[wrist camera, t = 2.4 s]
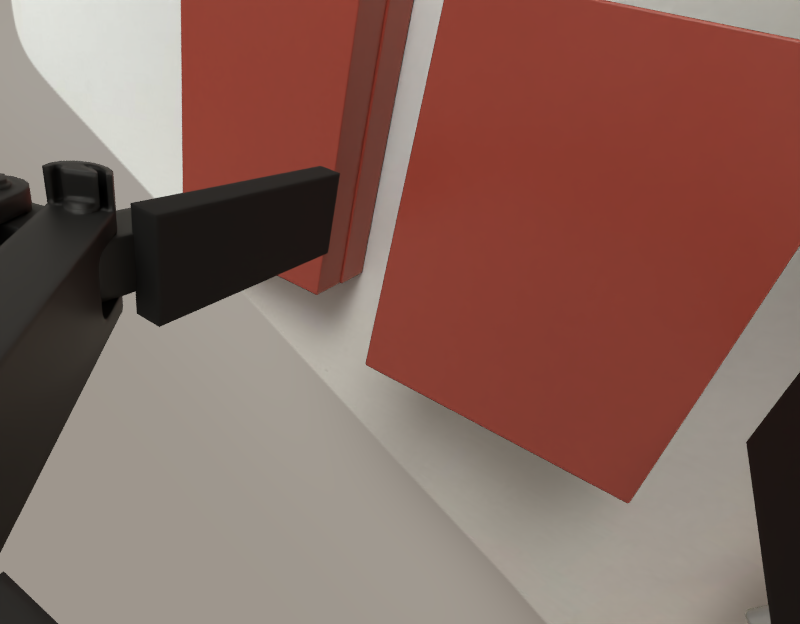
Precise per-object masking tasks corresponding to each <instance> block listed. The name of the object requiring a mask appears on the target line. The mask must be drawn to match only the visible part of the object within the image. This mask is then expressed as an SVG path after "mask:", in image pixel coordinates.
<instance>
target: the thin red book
mask: <svg viewBox="0 0 800 624" xmlns="http://www.w3.org/2000/svg"><path fill="white" fill-rule="evenodd" d="M799 246H800V40H798V39H794V38H789V37H784V36H779V35H774V34H769V33H764V32H759V31H754V30H749V29H744V28H739V27H734V26H729V25H724V24H719V23H714V22H710V21H705V20H700V19H695V18H690V17H685V16H680V15H675V14H670V13H665V12H660V11H655V10H650V9H645V8H640V7H635V6H630V5H625V4H621V3H616V2H611V1H606V0H444V3H443V7H442V12H441V17H440V21H439V26H438V31H437V35H436V40H435V44H434V49H433V54H432V58H431V63H430V68H429V72H428V77H427V81H426V86H425V91H424V95H423V100H422V105H421V109H420V114H419V119H418V123H417V128H416V132H415V137H414V142H413V146H412V151H411V156H410V160H409V165H408V169H407V174H406V179H405V183H404V188H403V193H402V197H401V202H400V206H399V211H398V216H397V220H396V225H395V230H394V234H393V239H392V244H391V248H390V253H389V257H388V262H387V267H386V271H385V276H384V281H383V285H382V290H381V294H380V299H379V304H378V308H377V313H376V318H375V322H374V327H373V331H372V336H371V341H370V345H369V350H368V355H367V359H366V365H367V366H369V367H371V368H373V369H375V370H377V371H379V372H380V373H382V374H384V375H386V376H388V377H390V378H392V379H394V380H396V381H397V382H399V383H401V384H403V385H405V386H407V387H409V388H411V389H413V390H414V391H416V392H418V393H420V394H422V395H424V396H426V397H428V398H430V399H431V400H433V401H435V402H437V403H439V404H441V405H443V406H445V407H447V408H448V409H450V410H452V411H454V412H456V413H458V414H460V415H462V416H464V417H465V418H467V419H469V420H471V421H473V422H475V423H477V424H479V425H480V426H482V427H484V428H486V429H488V430H490V431H492V432H494V433H496V434H497V435H499V436H501V437H503V438H505V439H507V440H509V441H511V442H513V443H514V444H516V445H518V446H520V447H522V448H524V449H526V450H528V451H530V452H531V453H533V454H535V455H537V456H539V457H541V458H543V459H545V460H547V461H548V462H550V463H552V464H554V465H556V466H558V467H560V468H562V469H564V470H565V471H567V472H569V473H571V474H573V475H575V476H577V477H579V478H580V479H582V480H584V481H586V482H588V483H590V484H592V485H594V486H596V487H597V488H599V489H601V490H603V491H605V492H607V493H609V494H611V495H613V496H614V497H616V498H618V499H620V500H622V501H624V502H626V503H629V502H630V501H631V500H632V498H633V497H634V495H635V494H636V492H637V491H638V489H639V488H640V486H641V485H642V483H643V482H644V480H645V479H646V477H647V476H648V474H649V473H650V471H651V470H652V468H653V467H654V465H655V464H656V462H657V460H658V459H659V457H660V456H661V454H662V453H663V451H664V450H665V448H666V447H667V445H668V444H669V442H670V441H671V439H672V438H673V436H674V435H675V433H676V432H677V430H678V429H679V427H680V426H681V424H682V423H683V421H684V420H685V418H686V417H687V415H688V414H689V412H690V411H691V409H692V408H693V406H694V405H695V403H696V402H697V400H698V399H699V397H700V396H701V394H702V393H703V391H704V389H705V388H706V386H707V385H708V383H709V382H710V380H711V379H712V377H713V376H714V374H715V373H716V371H717V370H718V368H719V367H720V365H721V364H722V362H723V361H724V359H725V358H726V356H727V355H728V353H729V352H730V350H731V349H732V347H733V346H734V344H735V343H736V341H737V340H738V338H739V337H740V335H741V334H742V332H743V331H744V329H745V328H746V326H747V325H748V323H749V322H750V320H751V318H752V317H753V315H754V314H755V312H756V311H757V309H758V308H759V306H760V305H761V303H762V302H763V300H764V299H765V297H766V296H767V294H768V293H769V291H770V290H771V288H772V287H773V285H774V284H775V282H776V281H777V279H778V278H779V276H780V275H781V273H782V272H783V270H784V269H785V267H786V266H787V264H788V263H789V261H790V260H791V258H792V257H793V255H794V254H795V252H796V251H797V249H798V247H799Z"/></svg>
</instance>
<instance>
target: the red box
mask: <svg viewBox="0 0 800 624" xmlns="http://www.w3.org/2000/svg"><path fill="white" fill-rule="evenodd" d="M412 6H413V0H181V55H182V151H183V193H185V192H190V191H195V190H200V189H205V188H210V187H215V186H220V185H225V184H231V183H236V182H241V181H246V180H251V179H256V178H261V177H266V176H271V175H276V174H281V173H286V172H291V171H296V170H301V169H306V168H311V167H316V166H323V167H325V168H328V169H330V170H333V171H336V172H338V173H340V178H339V185H338V191H337V198H336V204H335V211H334V217H333V224H332V230H331V237H330V243H329V250H328V253H327V254H325V255H322V256H320V257H318V258H315V259H313V260H311V261H309V262H306V263H304V264H302V265H299V266H297V267H295V268H293V269H290V270H288V271H286V272H283V273H281V274H279V275H277V276H279V277H281V278H283V279H285V280H287V281H289V282H291V283H294V284H296V285H298V286H300V287H302V288H304V289H306V290H308V291H310V292H312V293H314V294H316V295H318V294H320V293H322V292H323V291H325V290H327V289H329V288H331V287H333V286H335V285H336V284H338V283H339V282H340V283H343V282H345V281H347V280H349V279H351V278H353V277H354V276H356V275H358V274H360V273H362V269H363V264H364V259H365V253H366V248H367V243H368V238H369V232H370V227H371V222H372V216H373V211H374V206H375V201H376V195H377V190H378V185H379V180H380V174H381V169H382V164H383V159H384V153H385V148H386V143H387V137H388V132H389V127H390V122H391V116H392V111H393V106H394V101H395V95H396V90H397V85H398V79H399V74H400V69H401V64H402V58H403V53H404V48H405V43H406V37H407V32H408V27H409V22H410V16H411V11H412Z"/></svg>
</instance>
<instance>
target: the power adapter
mask: <svg viewBox="0 0 800 624" xmlns="http://www.w3.org/2000/svg"><path fill="white" fill-rule="evenodd" d="M745 615H746V619H747V621H748V623H749V624H771V621H770V613H769V606H768V605H766V606H761V607H757V608H752V609H748V610H747V611H746V614H745Z"/></svg>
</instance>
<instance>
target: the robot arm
mask: <svg viewBox="0 0 800 624" xmlns="http://www.w3.org/2000/svg"><path fill="white" fill-rule="evenodd" d="M42 168H43V175H44V182H45V189H46V196H47V202H48V203H47V204H46V205H45V206H42V205H38V204H35V203H32V201H31V194H30V188H29V183H28V182H26V181H25V180H23V179H20V178H17V177H13V176H6V175H5V174H1V173H0V552H1V550H2V548H3V546H4V544H5V542H6V540H7V538H8V536H9V534H10V532H11V530H12V528H13V526H14V524H15V522H16V520H17V518H18V517H19V515H20V512H21V511H22V508H23V507H24V504H25V503H26V501H27V499H28V497H29V495H30V493H31V491H32V489H33V487H34V485H35V483H36V481H37V479H38V477H39V475H40V473H41V471H42V469H43V467H44V465H45V463H46V461H47V459H48V457H49V455H50V453H51V451H52V449H53V447H54V445H55V443H56V441H57V439H58V437H59V435H60V433H61V431H62V429H63V427H64V425H65V423H66V421H67V419H68V417H69V415H70V413H71V411H72V409H73V407H74V406H75V404H76V402H77V400H78V397H79V396H80V394H81V392H82V390H83V388H84V386H85V384H86V382H87V380H88V378H89V376H90V374H91V372H92V370H93V368H94V366H95V364H96V362H97V360H98V358H99V356H100V354H101V352H102V350H103V348H104V346H105V344H106V342H107V340H108V338H109V336H110V334H111V332H112V330H113V328H114V326H115V324H116V322H117V320H118V318H119V316H120V314H121V313H122V309H123V301H122V296H123V295H126V294H129V293H132V292H135V291H136V306H137V314H139V315H140V316H142V317H144V318H145V319H147V320H149V321H150V322H152V323H154V324H156V325H157V326H159V327H160V326H162V325H165V324H167V323H169V322H171V321H174V320H176V319H178V318H181V317H183V316H185V315H187V314H190V313H192V312H194V311H197V310H199V309H201V308H203V307H206V306H208V305H210V304H213V303H215V302H217V301H219V300H221V299H224V298H226V297H229V296H231V295H233V294H235V293H238V292H240V291H242V290H245V289H247V288H249V287H251V286H254V285H256V284H258V283H261V282H263V281H265V280H267V279H270V278H272V277H274V276H277V275H279V274H281V273H283V272H286V271H288V270H290V269H293V268H295V267H297V266H299V265H302V264H304V263H306V262H309V261H311V260H313V259H315V258H318V257H320V256H322V255H325V254H327V253H328V250H329V243H330V237H331V230H332V224H333V217H334V211H335V204H336V198H337V191H338V185H339V178H340V173H338V172H336V171H333V170H330V169H328V168H325V167H323V166H316V167H311V168H306V169H301V170H296V171H291V172H286V173H281V174H276V175H271V176H266V177H261V178H256V179H251V180H246V181H241V182H236V183H231V184H225V185H220V186H215V187H210V188H205V189H200V190H195V191H190V192H185V193H180V194H175V195H170V196H165V197H160V198H155V199H150V200H145V201H140V202H134V203H131V208H128V209H122V210H118V211H116V205H115V192H114V178H113V171H112V170H111V169H109V168H108V167H105V166H103V165H100V164H96V163H90V162H83V161H58V162H52V163H48V164H45V165H43V166H42ZM746 443H747V450H748V458H749V465H750V473H751V480H752V487H753V495H754V502H755V510H756V517H757V525H758V532H759V539H760V547H761V554H762V562H763V569H764V576H765V584H766V591H767V599H768V606H769V613H770V621H771V624H800V373H799V374H798V375H797V376H796V378H795V379H794V380H793V382H792V383H791V384H790V386H789V387H788V388H787V390H786V391H785V392H784V393H783V395H782V396H781V397H780V399H779V400H778V401H777V403H776V404H775V405H774V407H773V408H772V409H771V411H770V412H769V413H768V414H767V416H766V417H765V418H764V420H763V421H762V422H761V424H760V425H759V426H758V428H757V429H756V430H755V432H754V433H753V434H752V435H751V437H750V438H749V439H748V441H747V442H746ZM0 624H58V623H57V622H56V621H55V620H54V619H53V618H52V617H51V616H50V615H49V614H47V613H46V612H45V611H44V610H43V609H42V608H41V607H40V606H39V605H38V604H37V603H36V602H35V601H34V600H33V599H32V598H31V597H30V596H29V595H28V594H27V593H25V591H24V590H22V589H21V588H20V587H19V586H18V585H17V584H16V583H15V582H14V581H13V580H12V579H11V578H10V577H9V576H8V575H7V574H6V573H5V572H2V573H1V574H0Z"/></svg>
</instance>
